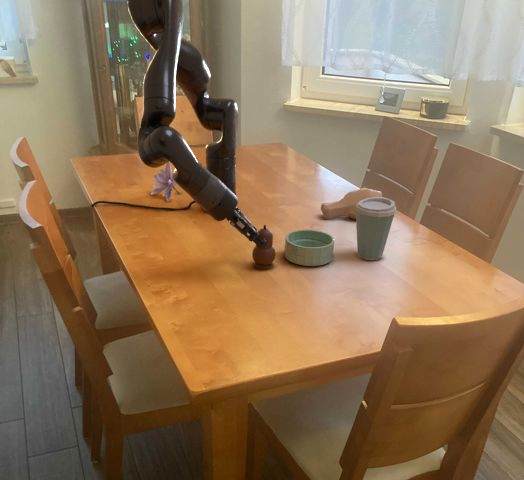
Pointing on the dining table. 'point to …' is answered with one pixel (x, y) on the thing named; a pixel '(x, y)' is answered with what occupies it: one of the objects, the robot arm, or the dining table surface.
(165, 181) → the water lily
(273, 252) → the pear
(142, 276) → the dining table surface
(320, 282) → the dining table surface
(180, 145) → the robot arm
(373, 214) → the disposable coffee cup
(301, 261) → the bowl
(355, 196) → the squash
